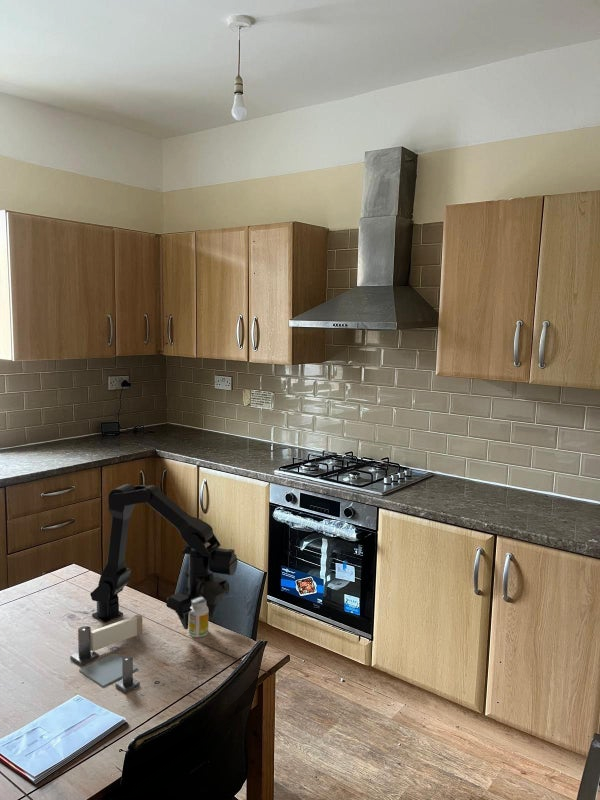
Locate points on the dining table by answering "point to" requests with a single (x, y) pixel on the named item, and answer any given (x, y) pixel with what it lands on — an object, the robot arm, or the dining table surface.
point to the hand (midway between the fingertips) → (198, 622)
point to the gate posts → (88, 655)
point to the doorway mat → (105, 670)
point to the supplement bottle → (198, 618)
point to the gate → (116, 632)
